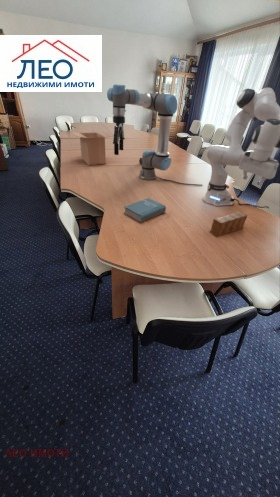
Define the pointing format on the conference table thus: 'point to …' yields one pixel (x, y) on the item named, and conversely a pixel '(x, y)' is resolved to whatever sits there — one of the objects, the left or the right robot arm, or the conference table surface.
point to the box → (92, 146)
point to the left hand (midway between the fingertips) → (118, 152)
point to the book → (144, 209)
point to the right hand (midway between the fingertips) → (251, 181)
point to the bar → (228, 223)
